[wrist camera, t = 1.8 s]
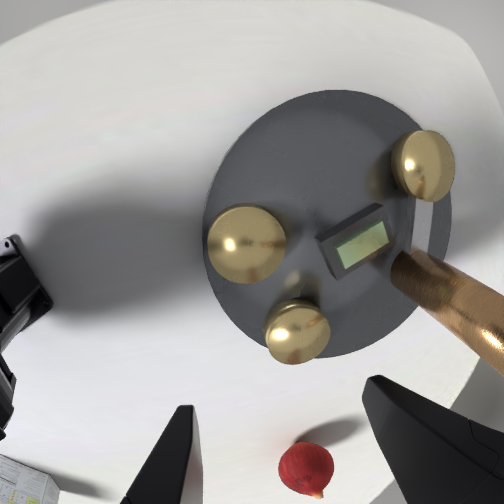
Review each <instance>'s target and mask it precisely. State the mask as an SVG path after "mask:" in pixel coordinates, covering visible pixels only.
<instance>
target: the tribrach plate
mask: <svg viewBox="0 0 504 504" xmlns="http://www.w3.org/2000/svg"><path fill="white" fill-rule="evenodd" d="M409 131H423V130H422V129H421V128H420V127H419V125H418V124H417V123H416V122H414V121H413V120H412V119H411V118H410V117H409V116H408V115H407V114H406V113H404V112H403V111H401V110H400V109H398V108H397V107H396V106H394V105H392V104H390V103H388V102H386V101H384V100H382V99H380V98H378V97H375V96H372V95H369V94H366V93H362V92H356V91H349V90H325V91H319V92H313V93H308V94H305V95H302V96H299V97H296V98H293V99H290V100H288V101H286V102H284V103H283V104H281V105H279V106H277V107H275V108H273V109H271V110H270V111H268V112H267V113H266V114H264V115H263V116H261V117H260V118H259V119H257V120H256V121H255V122H254V123H252V124H251V125H250V126H249V127H248V128H247V129H246V130H245V131H244V132H243V133H242V134H241V135H240V136H239V137H238V138H237V139H236V141H235V142H234V144H233V145H232V146H231V148H230V149H229V150H228V152H227V153H226V154H225V156H224V158H223V160H222V162H221V163H220V165H219V167H218V169H217V171H216V173H215V175H214V178H213V181H212V183H211V186H210V189H209V192H208V195H207V200H206V205H205V210H204V215H203V231H202V241H203V253H204V261H205V266H206V270H207V274H208V279H209V281H210V284H211V286H212V289H213V291H214V294H215V296H216V298H217V300H218V301H219V303H220V305H221V307H222V308H223V310H224V312H225V313H226V314H227V315H228V317H229V318H230V319H231V320H232V322H233V323H234V324H235V325H236V326H237V327H238V328H239V329H240V330H241V331H243V332H244V333H245V334H246V335H247V336H248V337H250V338H251V339H253V340H254V341H256V342H257V343H259V344H260V345H262V346H265V347H267V348H268V349H269V351H270V353H271V355H272V356H273V358H275V359H276V360H277V361H279V362H281V363H284V364H290V365H294V364H301V363H305V362H307V361H309V360H311V359H313V358H329V357H335V356H340V355H345V354H348V353H351V352H354V351H357V350H360V349H362V348H365V347H367V346H369V345H371V344H373V343H375V342H377V341H378V340H380V339H382V338H383V337H385V336H386V335H388V334H389V333H390V332H392V331H393V330H394V329H396V328H397V327H398V326H399V325H400V324H402V323H403V322H404V321H405V320H406V319H407V318H408V317H409V316H410V315H411V314H412V313H413V311H414V310H415V309H416V308H417V307H418V305H417V304H416V303H415V302H413V301H412V300H411V299H409V298H408V297H407V296H406V295H404V294H403V293H402V292H400V291H399V290H398V289H396V288H395V287H394V286H393V285H392V283H391V280H390V270H391V266H392V263H393V261H394V259H395V258H396V256H397V255H398V254H399V253H400V252H401V251H402V249H403V241H404V233H405V224H406V214H407V202H408V196H407V195H405V194H404V193H403V192H402V191H401V190H400V189H399V188H398V187H397V185H396V183H395V181H394V179H393V176H392V171H391V155H392V150H393V147H394V145H395V143H396V141H397V140H398V139H399V137H400V136H401V135H403V134H404V133H406V132H409ZM450 228H451V198H450V191H448V193H447V194H446V195H445V196H444V197H443V198H442V199H440V200H439V201H436V202H433V212H432V221H431V229H430V237H429V244H428V250H427V253H429V254H431V255H432V256H434V257H436V258H438V259H440V260H442V261H443V260H444V257H445V254H446V250H447V245H448V241H449V235H450Z"/></svg>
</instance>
